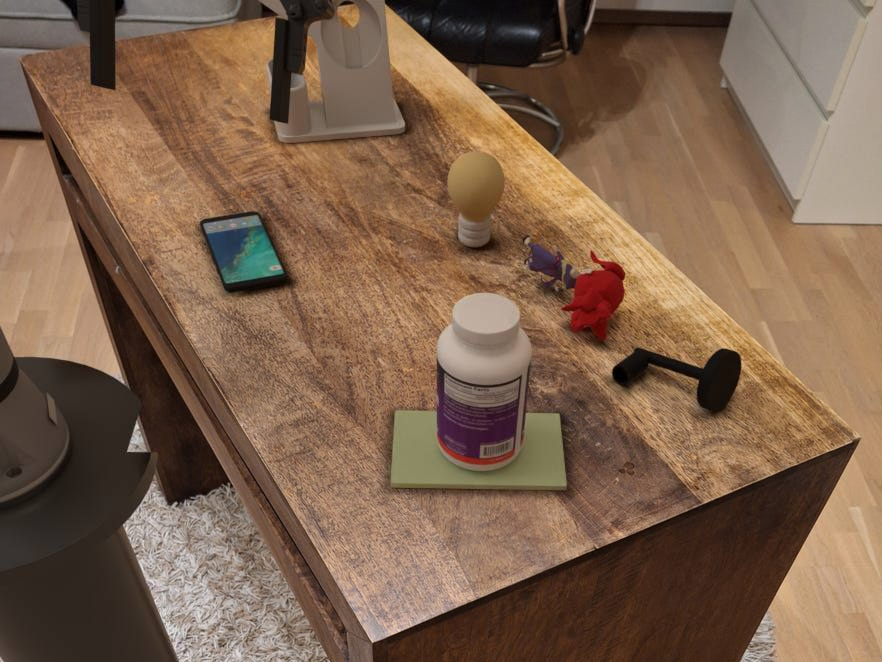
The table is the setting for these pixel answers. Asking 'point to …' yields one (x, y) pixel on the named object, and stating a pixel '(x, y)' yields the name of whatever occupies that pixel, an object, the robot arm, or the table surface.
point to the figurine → (582, 287)
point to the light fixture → (689, 374)
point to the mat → (429, 468)
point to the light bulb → (475, 194)
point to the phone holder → (344, 80)
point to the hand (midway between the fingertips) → (191, 105)
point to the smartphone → (243, 252)
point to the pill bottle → (482, 383)
